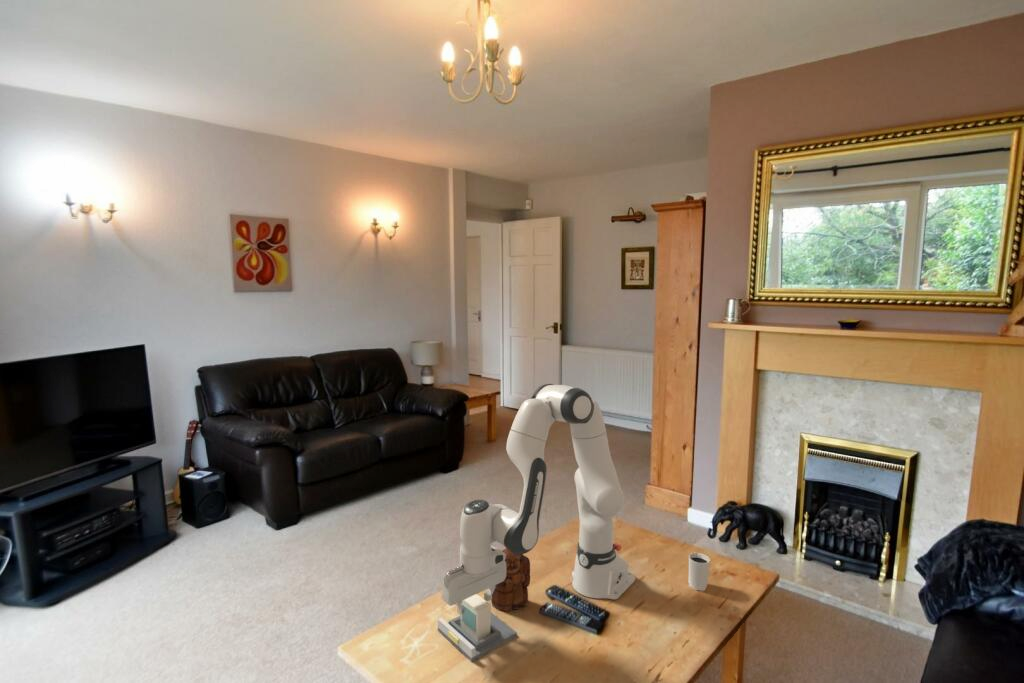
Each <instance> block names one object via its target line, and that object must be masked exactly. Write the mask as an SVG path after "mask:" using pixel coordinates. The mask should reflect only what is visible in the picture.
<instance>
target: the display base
mask: <svg viewBox="0 0 1024 683" xmlns="http://www.w3.org/2000/svg"><path fill="white" fill-rule="evenodd" d="M460 625H461V615H460V614H459V615H458V616H456V617H455V618H453V619H451V620H448V621H447V620H445V619H444V618H443V617H440V618H437V631H438V633H440V634H441V635H442V636H443V637H444V638H445V639H446V640H447V641H448V642H449V643H450V644H452V645H453V646H454V647H455V648H456V649H457V651H459V652H460V653H461V654H463V656H465V657H466V658H467V660H469V661H470V662H473V661H475V660H478V659H479V658H481V657H482V656H484V655H486V654H488V653H489V652H491V651H493V650H495V649H497V648H498V647H500V646H501V645H503V644H505V643H507V642H509V641H511V640H512V639H514V638H515V637H518V631H516V630H515V629H513V628H511V626H509V624H507V623H505V622H504V620H502V619H500V618H499V617H497V616H496V615H495V614H494V613H492V612H491V625H490V635H489V636H487V637H485V638H483V639H481V640H480V641H478V642H477V641H476V640H475V639H474V638H473V637H471V636H470V635H469V634H468V633H467V632H466V631H464V630H463V629H462V628H461V627H460Z"/></svg>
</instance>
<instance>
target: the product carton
mask: <svg viewBox="0 0 1024 683" xmlns="http://www.w3.org/2000/svg"><path fill="white" fill-rule="evenodd" d="M462 605H463V606H464V607H465V613H463V614H461V625H460V627H461V628H462V629H463V630H464V631H466V632H467V633H468V634H469V635H470V636H471V637H473V638H474V639H475V640H476V641H477V642H478V641H480V640H481V639H483V638H485V637H487V636H489V635H490V625H491V613H492V608H491V607H492V604H491V603H490V602H489V601H486V600H485V599H484V597H482V596H480V595H478V594H475V595H473V596H471V597H469V598H467V599H465V600H463V601H462Z"/></svg>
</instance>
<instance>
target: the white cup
mask: <svg viewBox="0 0 1024 683" xmlns="http://www.w3.org/2000/svg"><path fill="white" fill-rule="evenodd" d="M710 562H711V558H710V557H709V556H708V555H706V554H703V553H700V552H692V553H690V554H689V555H688V580H687V582H688V583H689V585H688V587H689V586H690V587H692V588H693V589H696V590H704V589H706V587H707V588H708V582H709V573H710V564H711V563H710ZM690 587H689V588H690ZM693 589H692V590H693ZM696 590H695V591H696ZM706 590H707V589H706Z"/></svg>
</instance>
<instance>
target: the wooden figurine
mask: <svg viewBox="0 0 1024 683" xmlns="http://www.w3.org/2000/svg"><path fill="white" fill-rule="evenodd" d="M501 551H502V552H504V553H505V554H506V558H505V562H506V578H505V580H504V581H503V582H501V583H499V584H497V585H495V590H494V592H493V594H492V600H490V601H491V606H492V607H494V608H495V609H496V610H497V611H498V610H499V611H501V612H511V610H519V609H521V607H525V606H526V607H528V604H529V591H528V587H529V586H530V584H531V562H530V559H529V557H528V556H526V555H525V554H522V555H515V554H513V553H512V552H511V551H509V550H508V549H507V548H506V547H505V548H504V549H502V550H501Z"/></svg>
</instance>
